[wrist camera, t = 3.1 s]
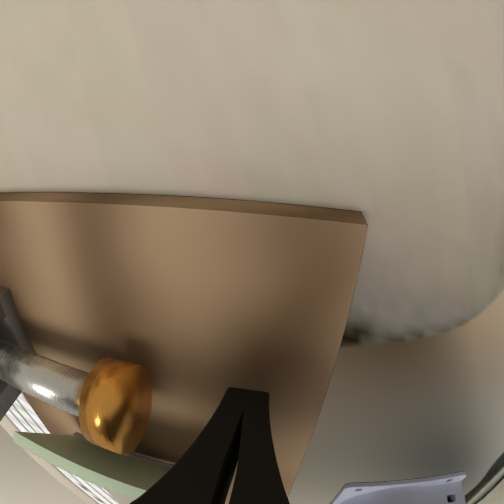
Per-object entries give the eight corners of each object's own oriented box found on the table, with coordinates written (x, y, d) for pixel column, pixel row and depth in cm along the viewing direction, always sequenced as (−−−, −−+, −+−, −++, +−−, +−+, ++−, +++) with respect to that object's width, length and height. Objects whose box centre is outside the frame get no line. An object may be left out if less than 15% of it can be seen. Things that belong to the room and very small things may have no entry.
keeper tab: (187, 497, 9) (184, 518, 9) (215, 471, 15) (212, 486, 15) (15, 427, 11) (13, 445, 10) (80, 431, 16) (78, 445, 16)
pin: (142, 344, 10) (99, 420, 7) (157, 403, 12) (128, 470, 9) (-5, 303, 11) (-49, 346, 8) (19, 356, 13) (-15, 399, 10)
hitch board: (361, 212, 9) (415, 342, 4) (282, 500, 19) (273, 561, 14) (-41, 194, 11) (-118, 239, 6) (71, 446, 21) (46, 492, 16)
